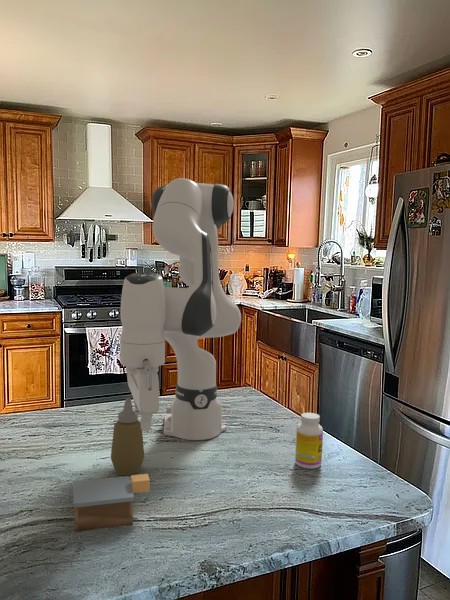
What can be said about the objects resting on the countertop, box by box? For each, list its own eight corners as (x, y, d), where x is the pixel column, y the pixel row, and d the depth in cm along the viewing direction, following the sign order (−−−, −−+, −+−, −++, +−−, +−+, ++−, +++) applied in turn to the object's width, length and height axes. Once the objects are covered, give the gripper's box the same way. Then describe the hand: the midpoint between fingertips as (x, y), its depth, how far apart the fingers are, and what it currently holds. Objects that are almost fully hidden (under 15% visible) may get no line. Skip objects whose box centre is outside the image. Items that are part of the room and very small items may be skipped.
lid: (73, 488, 109) (73, 474, 108) (145, 481, 113) (145, 467, 112) (73, 511, 100) (73, 495, 99) (151, 502, 104) (152, 487, 103)
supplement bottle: (320, 471, 130) (323, 421, 129) (294, 468, 132) (296, 418, 130) (321, 460, 137) (324, 412, 135) (295, 457, 138) (298, 410, 137)
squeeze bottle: (150, 467, 130) (151, 396, 128) (134, 480, 122) (134, 405, 120) (121, 461, 132) (121, 392, 130) (103, 474, 125) (104, 401, 123)
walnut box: (74, 508, 109) (74, 485, 108) (128, 502, 112) (128, 480, 111) (74, 531, 100) (74, 506, 100) (132, 524, 103) (133, 500, 103)
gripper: (167, 366, 96) (166, 439, 97) (150, 344, 115) (150, 405, 117) (133, 367, 94) (132, 442, 95) (121, 345, 113) (121, 407, 115)
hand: (142, 421), depth 106 cm, fingers open, 8 cm apart
